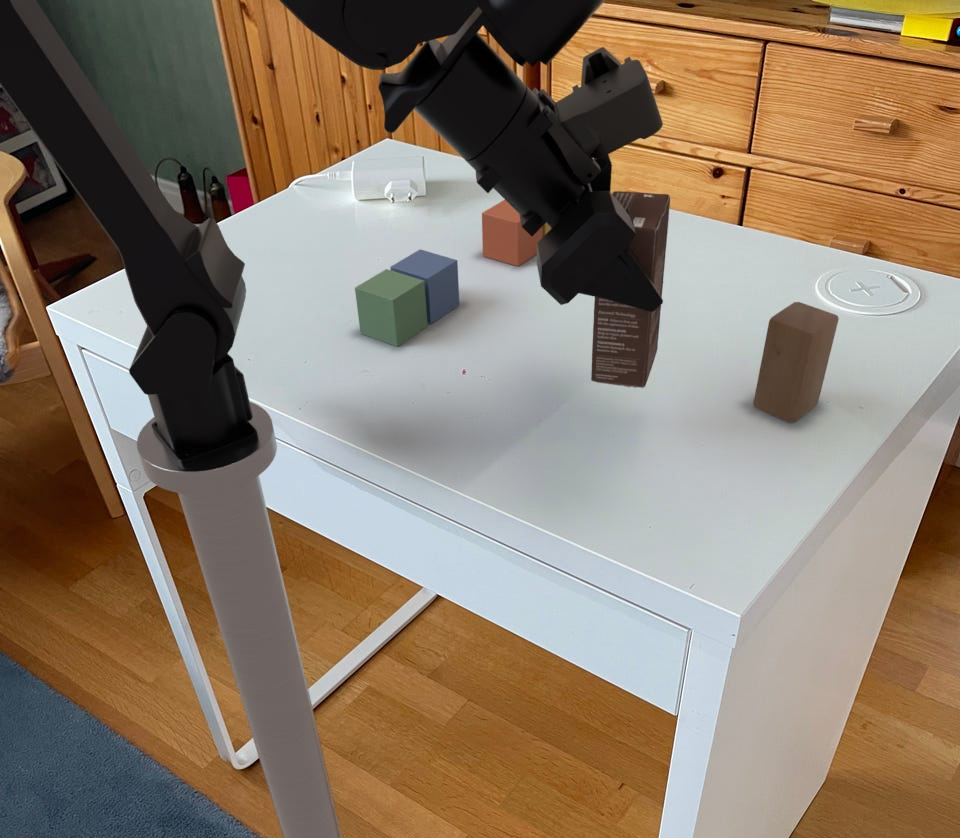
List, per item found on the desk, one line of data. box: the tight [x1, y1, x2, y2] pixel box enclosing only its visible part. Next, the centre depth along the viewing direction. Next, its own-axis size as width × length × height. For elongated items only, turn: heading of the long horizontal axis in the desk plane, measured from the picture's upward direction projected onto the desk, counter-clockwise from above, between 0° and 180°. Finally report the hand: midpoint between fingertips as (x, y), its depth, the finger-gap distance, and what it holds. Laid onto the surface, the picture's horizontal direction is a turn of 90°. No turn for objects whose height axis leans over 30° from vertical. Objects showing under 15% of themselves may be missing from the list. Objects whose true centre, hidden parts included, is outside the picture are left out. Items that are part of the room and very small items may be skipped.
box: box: [590, 190, 671, 389], centre depth 71 cm, size 6×4×12 cm
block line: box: [354, 199, 551, 347], centre depth 97 cm, size 29×4×4 cm, turn 144°
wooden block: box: [752, 301, 840, 424], centre depth 78 cm, size 4×4×8 cm
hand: (649, 283), depth 70 cm, fingers closed on box, 7 cm apart
